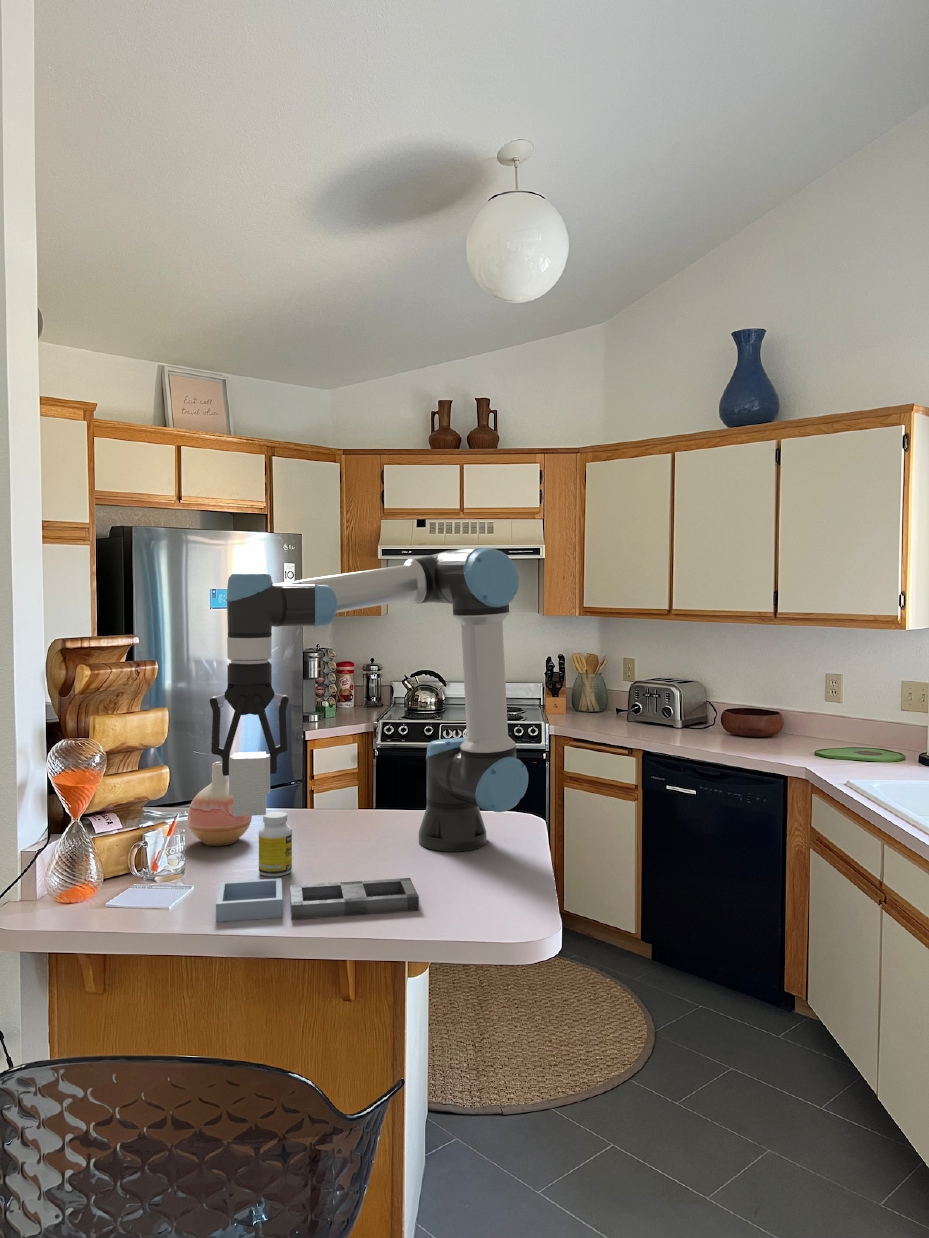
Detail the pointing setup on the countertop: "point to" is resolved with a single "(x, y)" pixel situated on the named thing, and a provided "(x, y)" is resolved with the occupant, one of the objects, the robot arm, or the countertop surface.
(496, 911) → the countertop surface
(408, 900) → the grey slotted holder
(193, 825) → the vase
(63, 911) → the countertop surface
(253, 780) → the white block
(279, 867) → the pill bottle
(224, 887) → the tray
